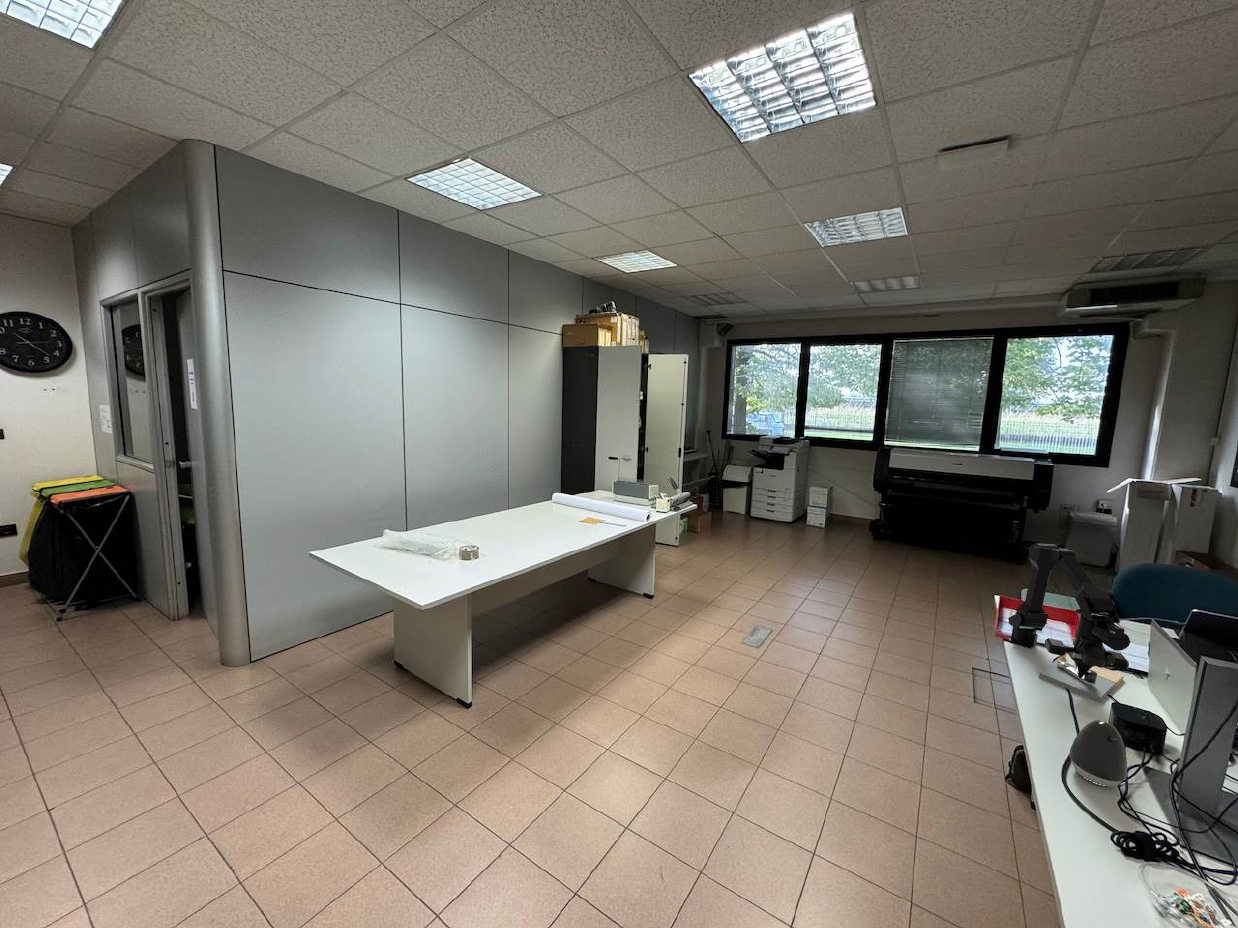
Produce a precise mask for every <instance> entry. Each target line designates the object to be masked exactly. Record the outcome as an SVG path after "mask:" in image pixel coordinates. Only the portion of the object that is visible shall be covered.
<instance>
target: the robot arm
mask: <svg viewBox="0 0 1238 928" xmlns="http://www.w3.org/2000/svg"><path fill="white" fill-rule="evenodd" d="M1028 559H1029V561H1030V563H1031V565H1032V567H1031V573H1030V577H1029V582H1028V586H1027V589H1026V590H1027V591H1026V596H1025V600H1024V601H1023V603H1022V604H1020V605H1019V606H1018V607H1017V609H1016V612H1015V614H1013V615H1011V616H1010V617H1008V624H1009V625H1010V626H1011V627H1012V628H1011V635H1010V636H1011V637H1010V638H1009V639H1008V642H1011V643H1014V644H1016V645H1017V646H1018V645H1019V646H1021V647H1023V648H1026V649H1031V648H1033V647H1034V646H1036V645H1037V643H1038V636H1039V635H1038V633H1037V632H1042V631H1043V630H1044V628H1045V626H1046V625H1047V624H1048V618H1049V614H1048V613H1046V611H1045V609H1044V606H1043V605H1044V601H1045V597H1046V593H1047V588H1048V584H1049V579H1050V575H1051V571H1052V570H1053V569H1054V568H1055V567H1057V566H1058V565H1059V567H1060V569H1061V570H1062V572H1063V573H1064V574H1065V576H1066V578H1067V580H1068V581H1069V582H1070V585H1071V586H1072V587H1073V589H1074V590H1075V596H1074V599H1075V601H1076V604H1077V605H1078V607H1079V608H1078V609H1075V612H1076V613H1077V614H1079V615H1080V616H1079V620H1078V624H1077V629H1075V632H1074V633H1076V637H1075V638H1074V640H1075V641H1074V640H1073V641H1072V645H1073V646H1074V647H1073V646H1069V645H1066V644H1064V642H1063V641H1062V640H1060V639H1056V638H1051V637H1050V638H1049V637H1047V638H1046V639H1044V643H1043V644H1044V646H1045V648H1046V650H1047V652H1048V653H1050V654H1052V655H1056V656H1063V655H1065V654H1066V653H1067V654H1068V655H1069V656H1070V657H1071V659H1072V660H1074V662H1075V666H1076V670H1077V674H1078V677H1079V678H1082V677H1083V676H1084V675H1085V673H1086V672H1087V671H1088V670H1089V669H1091V668H1092V667H1094V666H1097V667H1100V668H1105V667H1104V666H1105V665H1108V666H1111V665H1112V666H1113V667H1114V668H1116V669H1120V670H1125V671H1127V670H1129V666H1130V664H1129V661H1128V660H1127V658H1126V657H1125V656H1124V655H1123V654H1122V653H1121V651H1124V650H1126V649H1128V647H1129V646H1130V645H1131V639H1130V637H1129V635H1128V634H1127V633H1125V631H1126V630H1125V628H1124V627H1122V626H1119V625H1117V624H1121V621H1120V615H1119V613H1118V611H1117V609H1116V605H1115V603H1114V600H1113V599H1112V598H1111V597H1110V596H1109V594H1107V593H1106V591H1104V590H1103V589H1101V588H1100V587H1098V586H1096V585H1095V584H1094V582H1093V581H1092V579H1091V577H1090V576H1089V575H1088V574H1087V572H1086V570H1084V568H1083V567H1082V565H1081V563H1080V562H1079V560H1078V559H1077V558H1076V554H1075V552H1074V551H1073V550H1070V549H1067V548H1062V547H1059V546H1058V545H1057V544H1055V543H1054V544H1052V543H1049V544H1048V543H1033V544H1030V546H1029V549H1028ZM1102 645H1103V646H1104V645H1105V646H1107V647H1108V648H1110V649H1111V650H1108V649H1106V651H1104V650H1103V647H1102ZM1112 650H1113V651H1112ZM1117 651H1118V652H1117Z"/></svg>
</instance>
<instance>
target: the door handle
mask: <svg viewBox="0 0 1238 928" xmlns="http://www.w3.org/2000/svg"><path fill="white" fill-rule="evenodd" d="M1057 667H1059V668H1061V669H1064V670H1066V671H1067V672H1069V673H1070V674H1072V675H1074V676H1075V677H1077V678H1078V679H1080V680H1081V681H1083V682H1084V683H1086V684H1088V685H1095V683H1096V678H1097V673H1096V672H1095V671H1092V670H1088V671H1087V672H1086V673H1085V675H1084V676H1083V677H1082V678H1079V677H1078V674H1077V670H1075V669H1073V668H1072V667H1070V664H1069V663H1067V662H1064V661H1057Z"/></svg>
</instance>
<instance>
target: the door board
mask: <svg viewBox="0 0 1238 928" xmlns="http://www.w3.org/2000/svg"><path fill="white" fill-rule="evenodd" d="M1058 656H1059V657H1058V658H1056V659H1055V660H1054V661H1053V662H1051V663H1050V664H1049V665H1048V666H1045V668H1044V669H1042V670H1041V671H1039V674H1038V678H1041V679H1043V680H1045V681H1047V682H1050V683H1053V684H1055V685H1057V686H1060V687H1062V688H1064V689H1066V690H1069V691H1071V692H1074V693H1077V694H1079V695H1080V696H1081V695H1082V696H1084V697H1086V698H1088V699H1091V700H1093V701H1095V702H1098V703H1101V702H1102V701H1103V700H1104V699H1105V698H1106V697H1107V695H1109V694H1110V693H1111V692H1112V691H1113V690H1114V689H1115V688H1116V687H1117V686H1118V685H1119V684H1120V683H1121V682H1122V681H1123V680H1124V677H1125V676H1124V674H1122V673H1119V672H1116V671H1113V670H1111V669H1108V668H1105V667H1103V668H1100V667H1097V666H1094V667H1092V668H1091V669H1089V670H1092V671H1095V672H1096V673H1097V678H1096V683H1095V685H1088V684H1086V683H1084V682H1083V681H1081V680H1080V679H1078V678H1077V677H1075V676H1074V675H1072V674H1070V673H1069V672H1067V671H1066V670H1064V669H1061V668H1059V667H1057V661H1064V662H1067V663H1069V664H1070V667H1072V668H1073V669H1075V670H1076V666H1075V662H1074V660H1072V659H1071V657H1070V656H1069V654H1068V653H1067V652H1066V654H1065V655H1063V656H1060V655H1058Z"/></svg>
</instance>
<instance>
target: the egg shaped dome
mask: <svg viewBox="0 0 1238 928" xmlns="http://www.w3.org/2000/svg"><path fill="white" fill-rule="evenodd" d="M1125 747H1126V746H1125V744H1124V741H1123V738H1122V736H1121V734H1120V732H1119V731H1118V729H1117V728H1116V727H1115V726H1114V725H1112V724H1111V723H1109V722H1107V721H1105V720H1092V721H1091V722H1088V723H1087V724H1086V725H1085V726H1084V727H1083V728H1081V730H1080V731H1079V733H1078V734H1077V735H1076V737H1074V740H1073V742H1072V744H1071V746H1070V748H1069V758H1070V761H1071V765H1072V766H1073V768H1074V770H1075V772H1077V773H1078V774H1079V775H1080V776H1081V775H1082V776H1083V777H1085V778H1086V779H1088V780H1091V781H1092V782H1095V783H1097V784H1101V785H1105V786H1112V787H1113V786H1114V787H1116V786H1119V785H1120V784H1121V783H1122V782H1123V781H1125V780H1126V778H1127V776H1128V759H1127V758H1128V757H1127V752H1126V748H1125ZM1082 776H1081V777H1082ZM1085 778H1084V779H1085ZM1086 779H1085V780H1086ZM1088 780H1087V781H1088ZM1092 782H1091V783H1092ZM1097 784H1096V785H1097ZM1112 787H1111V788H1112Z"/></svg>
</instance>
